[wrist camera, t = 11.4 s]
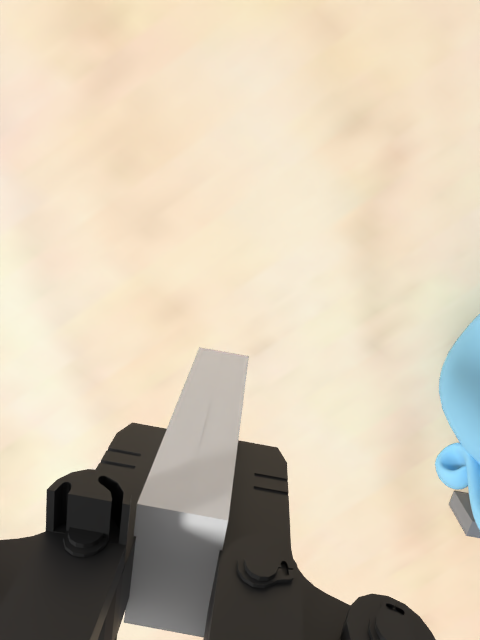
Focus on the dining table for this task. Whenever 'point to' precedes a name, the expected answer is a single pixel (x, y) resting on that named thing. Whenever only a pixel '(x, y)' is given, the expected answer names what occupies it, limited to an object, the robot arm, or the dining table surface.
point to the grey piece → (464, 513)
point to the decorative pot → (462, 416)
